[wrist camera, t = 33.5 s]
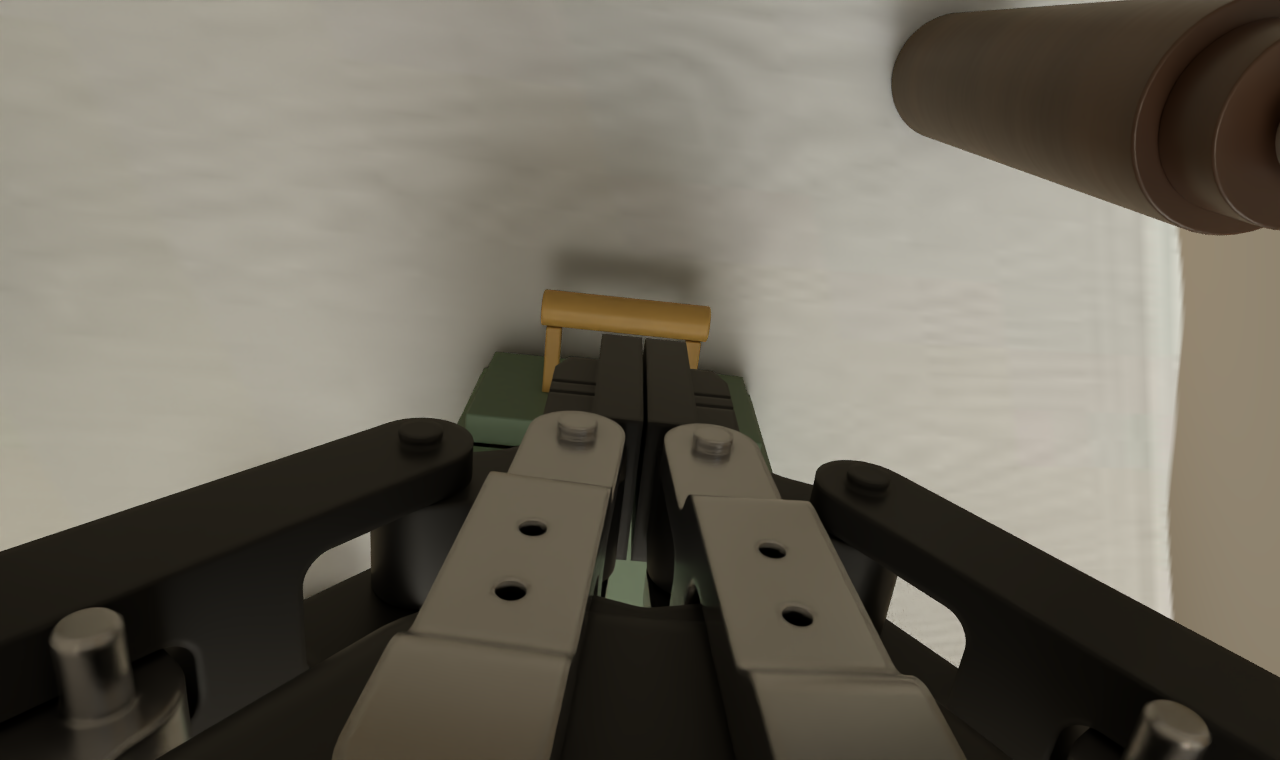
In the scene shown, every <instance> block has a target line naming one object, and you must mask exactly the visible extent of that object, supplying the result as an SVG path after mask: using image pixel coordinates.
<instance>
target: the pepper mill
mask: <svg viewBox="0 0 1280 760" xmlns="http://www.w3.org/2000/svg"><path fill="white" fill-rule="evenodd" d="M892 95H893V100H894V103H895V106H896V109H897V111H898V113H899V115H900V116H901V118H902V119H903V121H904V122H905V123H906V124H907V125H908V126H909V127H910V128H911V129H913V130H914V131H915V132H917V133H919V134H921V135H923V136H926V137H929V138H931V139H934V140H937V141H940V142H943V143H945V144H948V145H951V146H954V147H957V148H959V149H962V150H965V151H968V152H971V153H973V154H976V155H979V156H982V157H985V158H987V159H990V160H993V161H996V162H999V163H1001V164H1004V165H1007V166H1010V167H1012V168H1015V169H1018V170H1021V171H1024V172H1026V173H1029V174H1032V175H1035V176H1038V177H1040V178H1043V179H1046V180H1049V181H1052V182H1054V183H1057V184H1060V185H1063V186H1066V187H1068V188H1071V189H1074V190H1077V191H1079V192H1082V193H1085V194H1088V195H1091V196H1093V197H1096V198H1099V199H1102V200H1105V201H1107V202H1110V203H1113V204H1116V205H1119V206H1121V207H1124V208H1127V209H1130V210H1133V211H1135V212H1138V213H1141V214H1144V215H1147V216H1149V217H1152V218H1155V219H1158V220H1160V221H1163V222H1166V223H1169V224H1172V225H1174V226H1177V227H1180V228H1183V229H1186V230H1189V231H1191V232H1196V233H1201V234H1205V235H1234V234H1239V233H1245V232H1250V231H1254V230H1257V229H1260V228H1268V229H1273V230H1280V0H1123V1H1109V2H1096V3H1082V4H1069V5H1055V6H1041V7H1028V8H1014V9H1001V10H987V11H974V12H960V13H950V14H946V15H942V16H939V17H937V18H935V19H933V20H931V21H929V22H927V23H926V24H924V25H923V26H921V27H920V28H919V29H918V30H917V31H915V32H914V33H913V35H912V36H911V37H910V38H909V39H908V40H907V42H906V43H905V44H904V46H903V48H902V49H901V51H900V53H899V55H898V57H897V60H896V62H895V66H894V69H893V75H892Z"/></svg>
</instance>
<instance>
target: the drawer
mask: <svg viewBox="0 0 1280 760" xmlns="http://www.w3.org/2000/svg"><path fill="white" fill-rule="evenodd" d="M710 320H711V309H710V307H709V306H700V305H691V304H681V303H672V302H662V301H653V300H643V299H633V298H624V297H614V296H605V295H595V294H586V293H576V292H567V291H557V290H548V289H546V290H545V291H544V294H543V299H542V308H541V324H542V325H546V326H547V327H546V339H545V354H544V357H543V356H533V355H523V354H514V353H504V352H495V354H494V356H493V358H492V360H491V362H490V364H489V367H488V369H487V371H486V373H485V375H484V377H483V379H482V381H481V384H480V386H479V388H478V390H477V392H476V394H475V396H474V398H473V401H472V403H471V405H470V407H469V409H468V411H467V413H466V421H465V429H467V430H468V431H469V432H470V433H471V435H472V436H473V440H474V442H475V443H485V444H490V446H489V447H490V448H500V449H508V448H512V447H516V446H519V445H520V444H521V442H522V440H523V437H524V435H525V433H526V431H527V429H528V427H529V425H530V423H531V422H532V421H533V420H534V419H535V418H537V417H539V416H541V415H543V413H544V409H545V405H546V401H547V397H548V393H549V389H550V385H551V381H552V377H553V373H554V369H555V366H556V365H558V364H559V363H561V362H562V361H564V360H565V359H563V358H560V354H561V340H562V327H565V328H575V329H585V330H594V331H604V332H614V333H623V334H633V335H643V336H652V337H662V338H672V339H682V340H685V342H686V345H687V351H688V358H689V364H690V369H697V368H698V361H699V354H700V347H701V342H706V341H707V339H708V335H709V329H710ZM717 375H718V376H719V377H721V378H722V379H723V380H724V381H725V382H726V383H727V384H728V387H729V391H730V395H731V399H732V403H733V407H734V408H733V410H734V411H735V415H736V419H737V423H738V427H739V431H740V432H741V433H743V434H745V435H746V436H748V437H749V438H751V439H752V440H753V441H754V442H755V443H756V444H757V445H758V447H759V449H760V451H761V447H762V443H761V439H760V436H759V432H758V429H757V425H756V422H755V418H754V415H753V411H752V408H751V404H750V401H749V397H748V394H747V390H746V387H745V384H744V380H743V377H739V376H729V375H720V374H717Z"/></svg>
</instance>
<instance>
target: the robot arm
mask: <svg viewBox="0 0 1280 760" xmlns="http://www.w3.org/2000/svg"><path fill="white" fill-rule="evenodd" d="M733 408H734V407H733V403H732V399H731V395H730V391H729V387H728V384H727V383H726V382H725V381H724V380H723V379H722V378H721V377H719V376H718V375H717V374H716V373H715V372H714V371H709V370H699V369H690V364H689V358H688V351H687V345H686V342H681V341H671V340H662V339H652V338H646V339H645V344H644V350H643V346H642V337H632V336H622V335H613V334H603V333H602V339H601V348H600V356H599V359H590V358H580V357H568V358H567V359H565V360H564V361H562V362H561V363H559V364H558V365H556V366H555V369H554V373H553V377H552V381H551V385H550V389H549V393H548V397H547V401H546V405H545V409H544V413H543V415H541V416H539V417H537V418H535V419H534V420H533V421H532V422H531V423H530V425H529V427H528V429H527V431H526V433H525V435H524V437H523V440H522V442H521V444H520V445H519V446H516V447H512V448H508V449H502V450H493V451H480V452H473V445H474V440H473V436H472V435H471V433H470V432H469V431H468V430H467V429H465V428H464V427H462V426H460V425H458V424H456V423H453V422H450V421H446V420H441V419H434V418H409V419H402V420H396V421H393V422H389V423H386V424H383V425H380V426H377V427H374V428H371V429H368V430H365V431H362V432H359V433H356V434H353V435H350V436H347V437H344V438H341V439H338V440H335V441H332V442H329V443H326V444H323V445H320V446H317V447H314V448H311V449H308V450H305V451H302V452H299V453H296V454H293V455H290V456H287V457H284V458H281V459H278V460H275V461H272V462H269V463H266V464H263V465H260V466H257V467H254V468H251V469H248V470H245V471H242V472H239V473H236V474H233V475H230V476H227V477H224V478H221V479H218V480H215V481H212V482H209V483H205V484H202V485H199V486H196V487H193V488H190V489H187V490H184V491H181V492H178V493H175V494H172V495H169V496H166V497H163V498H160V499H157V500H154V501H151V502H148V503H145V504H142V505H139V506H136V507H133V508H130V509H127V510H124V511H121V512H118V513H115V514H112V515H109V516H106V517H103V518H100V519H97V520H94V521H91V522H88V523H85V524H82V525H79V526H76V527H73V528H70V529H67V530H64V531H61V532H58V533H55V534H52V535H49V536H46V537H43V538H40V539H37V540H34V541H31V542H28V543H25V544H22V545H19V546H16V547H13V548H10V549H7V550H4V551H1V552H0V760H1280V677H1278V676H1276V675H1274V674H1272V673H1271V672H1268V671H1267V670H1265V669H1263V668H1261V667H1259V666H1257V665H1255V664H1254V663H1252V662H1250V661H1248V660H1246V659H1244V658H1242V657H1241V656H1239V655H1237V654H1235V653H1233V652H1231V651H1229V650H1227V649H1226V648H1224V647H1222V646H1220V645H1218V644H1216V643H1214V642H1212V641H1211V640H1209V639H1207V638H1205V637H1203V636H1201V635H1199V634H1197V633H1196V632H1194V631H1192V630H1190V629H1188V628H1186V627H1184V626H1182V625H1181V624H1179V623H1177V622H1175V621H1173V620H1171V619H1169V618H1167V617H1166V616H1164V615H1162V614H1160V613H1158V612H1156V611H1154V610H1152V609H1151V608H1149V607H1147V606H1145V605H1143V604H1141V603H1139V602H1137V601H1136V600H1134V599H1132V598H1130V597H1128V596H1126V595H1124V594H1122V593H1121V592H1119V591H1117V590H1115V589H1113V588H1111V587H1109V586H1107V585H1106V584H1104V583H1102V582H1100V581H1098V580H1096V579H1094V578H1092V577H1091V576H1089V575H1087V574H1085V573H1083V572H1081V571H1079V570H1077V569H1076V568H1074V567H1072V566H1070V565H1068V564H1066V563H1064V562H1062V561H1061V560H1059V559H1057V558H1055V557H1053V556H1051V555H1049V554H1047V553H1046V552H1044V551H1042V550H1040V549H1038V548H1036V547H1034V546H1032V545H1031V544H1029V543H1027V542H1025V541H1023V540H1021V539H1019V538H1017V537H1016V536H1014V535H1012V534H1010V533H1008V532H1006V531H1004V530H1002V529H1001V528H999V527H997V526H995V525H993V524H991V523H989V522H987V521H986V520H984V519H982V518H980V517H978V516H976V515H974V514H972V513H971V512H969V511H967V510H965V509H963V508H961V507H959V506H957V505H956V504H954V503H952V502H950V501H948V500H946V499H944V498H942V497H941V496H939V495H937V494H935V493H933V492H931V491H929V490H927V489H926V488H924V487H922V486H920V485H918V484H916V483H914V482H912V481H911V480H909V479H907V478H905V477H903V476H901V475H899V474H897V473H895V472H893V471H891V470H889V469H886V468H884V467H881V466H878V465H875V464H871V463H866V462H861V461H852V460H838V461H832V462H828V463H825V464H823V465H822V466H820V467H819V468H818V469H817V471H816V475H815V480H814V484H813V485H810V484H807V483H803V482H799V481H795V480H791V479H788V478H785V477H781V476H779V475H776V474H774V473H771V472H770V471H769V469H768V467H767V465H766V462H765V460H764V458H763V456H762V453H761V451H760V449H759V447H758V445H757V444H756V443H755V442H754V441H753V440H752V439H751V438H749V437H748V436H746V435H745V434H743V433H741V432H740V431H739V427H738V423H737V419H736V415H735V411H734V410H733ZM630 526H631V561H640V562H647V569H646V577H645V584H644V591H643V605H644V607H639V606H634V605H631V604H627V603H623V602H619V601H615V600H611V599H608V598H607V592H608V583H609V577H610V575H611V574H612V573H613V571H614V568H615V562H616V560H626V559H627V550H628V542H629V534H630ZM368 532H370V537H371V568H370V569H368V570H366V571H363V572H361V573H359V574H357V575H355V576H353V577H351V578H349V579H347V580H345V581H343V582H341V583H338V584H336V585H334V586H332V587H330V588H328V589H326V590H324V591H322V592H320V593H318V594H316V595H313V596H311V597H309V598H307V599H305V600H303V581H304V577H305V575H306V572H307V571H308V569H309V567H310V566H311V564H312V563H313V562H314V561H315V560H316V559H317V558H318V557H319V556H320V555H321V554H323V553H324V552H326V551H328V550H329V549H331V548H334V547H336V546H338V545H341V544H343V543H345V542H347V541H350V540H352V539H354V538H356V537H359V536H361V535H363V534H365V533H368ZM897 576H899V577H900V578H902V579H903V580H905V581H906V582H908V583H910V584H911V585H913V586H914V587H916V588H917V589H919V590H920V591H922V592H924V593H925V594H927V595H928V596H930V597H931V598H933V599H935V600H936V601H938V602H939V603H941V604H942V605H944V606H946V607H947V608H948V609H950V610H951V611H952V612H953V613H954V614H955V615H956V617H957V618H958V619H959V621H960V623H961V624H962V627H963V629H964V632H965V637H966V646H965V650H964V653H963V656H962V659H961V662H960V665H959V669H958V668H957V667H955V666H954V665H952V664H951V663H949V662H948V661H947V660H945V659H944V658H942V657H941V656H939V655H938V654H936V653H935V652H933V651H932V650H931V649H929V648H928V647H926V646H925V645H923V644H922V643H920V642H919V641H917V640H916V639H915V638H913V637H912V636H910V635H909V634H907V633H906V632H904V631H903V630H901V629H900V628H899V627H897V626H896V625H894V624H893V623H891V622H890V621H888V620H887V619H886V616H887V612H888V608H889V605H890V601H891V597H892V594H893V590H894V586H895V583H896V579H897Z"/></svg>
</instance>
